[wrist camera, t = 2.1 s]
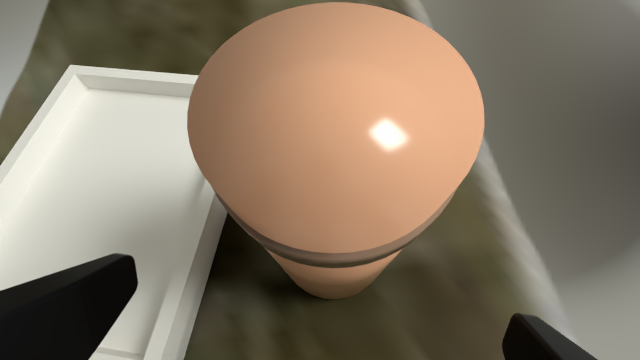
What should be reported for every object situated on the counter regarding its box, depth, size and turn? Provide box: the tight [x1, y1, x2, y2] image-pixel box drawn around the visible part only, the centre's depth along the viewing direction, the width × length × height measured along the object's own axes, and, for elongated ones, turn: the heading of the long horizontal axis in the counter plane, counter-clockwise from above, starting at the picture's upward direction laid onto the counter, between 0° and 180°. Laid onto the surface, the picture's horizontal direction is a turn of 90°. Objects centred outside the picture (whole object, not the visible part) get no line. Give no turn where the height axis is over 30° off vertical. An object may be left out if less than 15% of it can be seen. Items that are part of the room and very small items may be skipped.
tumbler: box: [187, 2, 484, 299], centre depth 12 cm, size 7×7×13 cm
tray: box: [0, 65, 227, 360], centre depth 19 cm, size 18×14×2 cm
